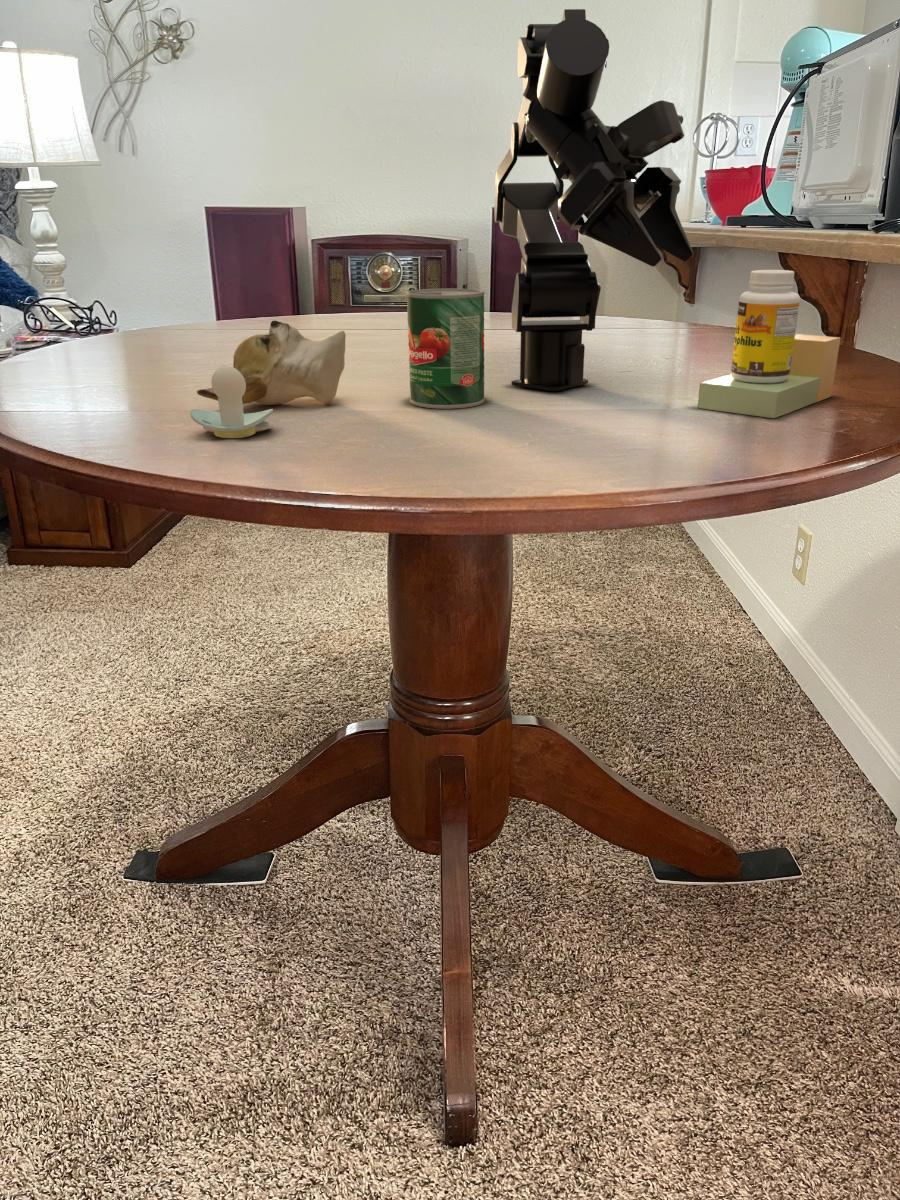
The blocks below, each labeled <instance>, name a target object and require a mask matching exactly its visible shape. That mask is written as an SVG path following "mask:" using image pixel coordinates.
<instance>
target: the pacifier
mask: <svg viewBox="0 0 900 1200" xmlns="http://www.w3.org/2000/svg"><path fill="white" fill-rule="evenodd" d="M210 384H211V388H212V389H213V391H214V393H215V394H216V395H217V396H218V401H217V402H218V411H214V410H207V409H199V408H198V409H190V410H189V416H190V418H191V420H192V421H194V422H195V423H196V424H197V425H199V426H201V427H202V428H203V429H204V430H205V431H207V432H210V433H211V432H212V433H213V435H214V436H215V437H217V438H221V439H241V438H247V437H251V436H253V435H255V434H256V432H262V431H266V430H269V429H271V428H273V426H274V423H273V422H271V420H267V419H269V418H270V416H271V415H272V414H273V412H274V409H273V408H269V409H266V410H262V411H256V412H250V413H244V404H243V403H242V396H243V395H244V393H245V390H246V383H245V379H244V377H243V376H242V374H241V373H240V372H239V371H238V370H237V369H235V368H234V367H233V366H230V365H221V366H219V367H217V368H216V369H214V371H213V373H212V375H211V379H210Z"/></svg>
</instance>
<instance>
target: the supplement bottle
mask: <svg viewBox="0 0 900 1200" xmlns="http://www.w3.org/2000/svg"><path fill="white" fill-rule="evenodd" d="M794 278H795V271H794V270H788V269H784V270H783V269H757V270H751V272H750V277H749V281H748V288H749V289H750V290H747V291H744V292H742V293H741V294H740V296H739V301H738V305H737V306H738V307H737V315H736V316H737V317H736V326H735V334H734V342H733V351H732V359H731V371H730V374H731V375H732V377H733V378H734V379H736V380H738V381H742V382H748V383H760V384H769V383H779V382H783V381H785V380H786V379H787V378H788V377H789V373H790V366H791V360H792V352H793V346H794V339H795V334H796V331H797V324H798V317H799V316H798V315H799V309H800V300H801V297H800V295H799V294H798V293H796V292H794V291H791V290H792V289H793V288H794V284H795V283H794V281H795V280H794Z"/></svg>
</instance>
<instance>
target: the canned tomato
mask: <svg viewBox="0 0 900 1200" xmlns="http://www.w3.org/2000/svg"><path fill="white" fill-rule="evenodd" d="M485 293H486V292H485V290H482V289H477V288H476V289H475V288H447V287H446V288H422V289H413V290H408V291H406V292H405V294H406V302H407V303H406V306H407V309H406V312H407V332H408V333H407V338H408V342H407V343H408V344H407V345H408V363H409V367H408V369H409V370H408V371H409V393H410V394H409V395H410V397H409V402H410V403H411V405H414V406H416V407H420V408H427V409H439V410H440V409H442V410H448V409H449V410H451V409H465V408H466V409H467V408H472V407H477V406H480V405H482V404H484V403H485V401H486V400H485V399H486V398H485Z"/></svg>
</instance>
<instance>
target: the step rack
mask: <svg viewBox="0 0 900 1200" xmlns="http://www.w3.org/2000/svg"><path fill="white" fill-rule="evenodd" d="M840 343H841V337H840V336H828V335H816V334H815V335H813V334H801V333H795V339H794V346H793V352H792V360H791V366H790V373H789V377H788V378H787V379H786V380H785V381H783V382H779V383H769V384H760V383H748V382H742V381H738V380H736V379H734V378H733V377H732V375H731V373H729V374H726V375H722V376H720V377H716V378H712V379H708V380H704V381H702V382H699V388H698V396H697V397H698V398H697V400H698V401H697V409H700V410H701V409H702V410H709V411H716V412H724V413H731V414H738V415H746V416H752V417H753V416H754V417H758V418H759V417H760V418H767V419H777V418H779V417H782V416H784V415H787V414H789V413H792V412H794V411H797V410H799V409H802V408H805V407H807V406H810V405H813V404H815V403H818V402H821V401H823V400H826V399H828V398H831V397H832V395H833V388H834V383H835V376H836V369H837V363H838V357H839V351H840Z"/></svg>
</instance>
